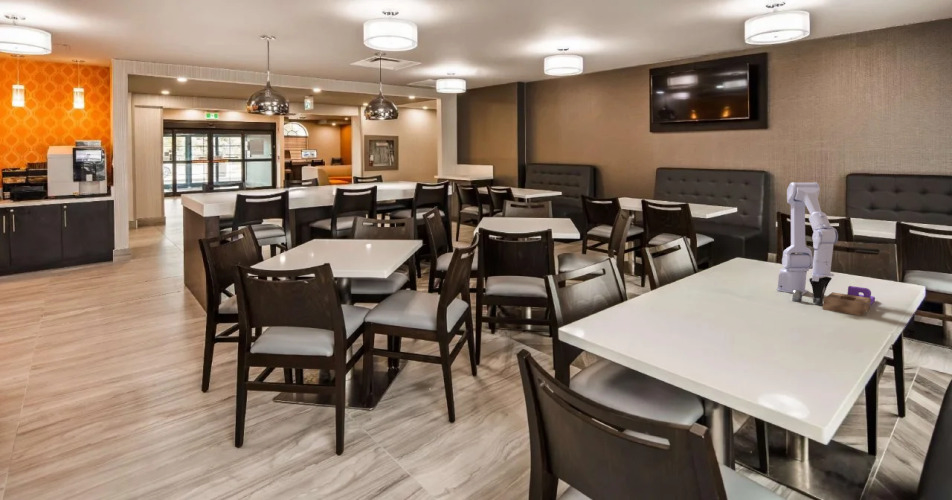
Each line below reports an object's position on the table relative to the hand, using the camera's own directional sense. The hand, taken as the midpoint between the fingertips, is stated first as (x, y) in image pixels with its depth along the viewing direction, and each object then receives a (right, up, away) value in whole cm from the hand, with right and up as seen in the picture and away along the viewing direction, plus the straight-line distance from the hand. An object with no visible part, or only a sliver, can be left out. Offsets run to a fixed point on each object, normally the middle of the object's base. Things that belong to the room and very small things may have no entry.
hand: (818, 296), depth 205 cm
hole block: (+6, -4, -6) cm, 9 cm away
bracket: (+17, -3, +3) cm, 18 cm away
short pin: (-5, -2, +5) cm, 8 cm away
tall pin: (0, -2, 0) cm, 2 cm away
